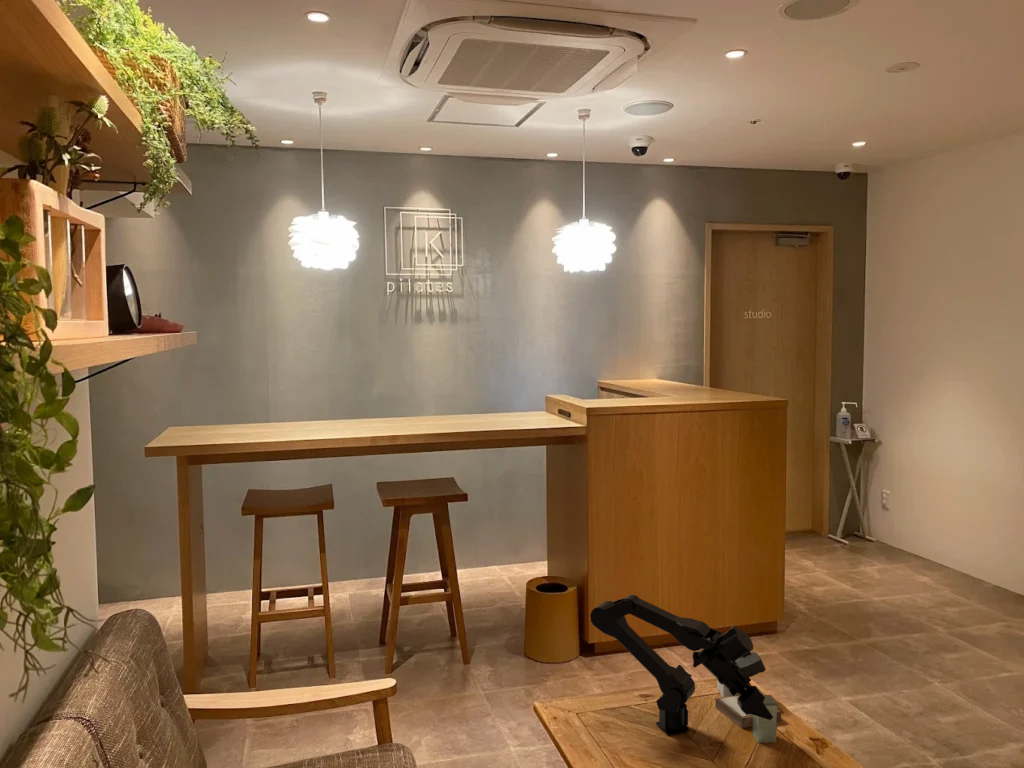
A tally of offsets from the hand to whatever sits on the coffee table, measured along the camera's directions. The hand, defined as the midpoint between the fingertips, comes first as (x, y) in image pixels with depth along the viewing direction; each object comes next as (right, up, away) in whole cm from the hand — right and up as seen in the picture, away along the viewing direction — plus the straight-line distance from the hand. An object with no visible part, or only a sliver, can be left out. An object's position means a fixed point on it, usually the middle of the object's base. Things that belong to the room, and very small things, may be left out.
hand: (765, 709), depth 205 cm
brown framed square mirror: (-1, -6, +13) cm, 15 cm away
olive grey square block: (0, -7, +1) cm, 7 cm away
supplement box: (-1, -6, +26) cm, 26 cm away
